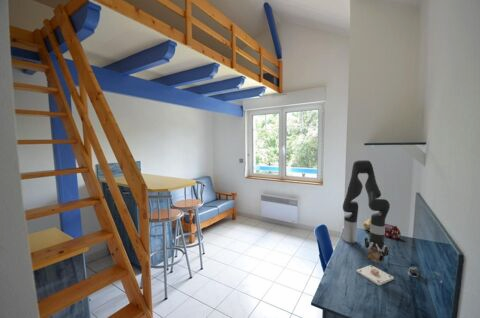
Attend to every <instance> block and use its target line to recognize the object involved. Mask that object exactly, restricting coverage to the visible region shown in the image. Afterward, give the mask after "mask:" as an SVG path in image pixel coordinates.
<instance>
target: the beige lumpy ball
mask: <svg viewBox="0 0 480 318" xmlns="http://www.w3.org/2000/svg"><path fill="white" fill-rule="evenodd" d="M362 225H363V228H364V230H365V231H369V232H370V225H371V218H368V219H366V220H365V221H364V222H363V223H362Z"/></svg>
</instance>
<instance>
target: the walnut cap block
mask: <svg viewBox="0 0 480 318" xmlns="http://www.w3.org/2000/svg"><path fill="white" fill-rule="evenodd" d="M367 259H369V260H371V261H372V262H375V263H376V264H378V263H381V261H380V253H379V251H378V249H376V248H374V247H373V248H369V249H368V248H367Z"/></svg>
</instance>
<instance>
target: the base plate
mask: <svg viewBox="0 0 480 318" xmlns="http://www.w3.org/2000/svg"><path fill="white" fill-rule="evenodd" d="M356 273H358V274H359V275H361V276H362V277H364V278H365V279H368V280H369V281H371V282H372V283H374V284H376V285H377V286H379V287H380V286H382V285H384V284H387V283H388V282H391V281H393V280H395V278H394V276H392V275H391V274H389V273H387V272H385V271H383V270H382V269H380V268H378V267H375V266H374V265H372V264H369V265H366V266H364V267H361V268H358V269H356Z"/></svg>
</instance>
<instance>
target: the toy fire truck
mask: <svg viewBox="0 0 480 318" xmlns="http://www.w3.org/2000/svg"><path fill="white" fill-rule="evenodd" d="M401 235H402V234H401V231H400V229H399V228H398V226H397V225H392V224H389V223H385V238H389V237H391V239H393V240H397V239H398V238H401Z"/></svg>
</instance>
